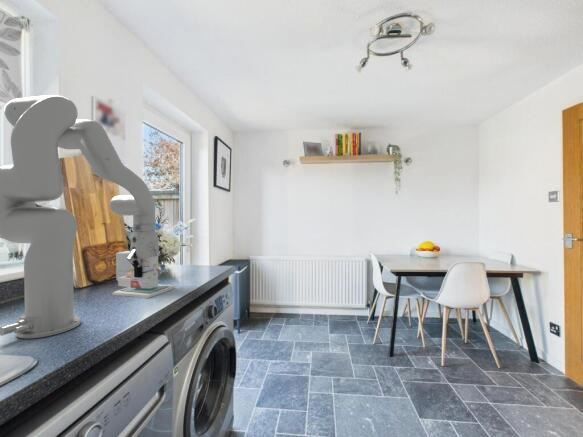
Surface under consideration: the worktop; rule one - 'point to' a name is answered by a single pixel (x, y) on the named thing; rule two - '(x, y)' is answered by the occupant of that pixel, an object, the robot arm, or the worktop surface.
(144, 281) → the ink cartridge box
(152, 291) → the picture board
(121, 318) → the worktop surface
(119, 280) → the button housing
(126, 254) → the supplement box
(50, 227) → the robot arm
